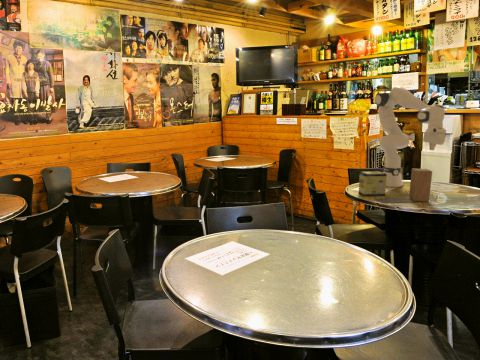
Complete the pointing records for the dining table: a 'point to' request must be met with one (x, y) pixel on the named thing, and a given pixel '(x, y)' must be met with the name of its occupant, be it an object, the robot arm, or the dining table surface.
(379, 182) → the protein box
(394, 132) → the robot arm
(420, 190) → the wooden block
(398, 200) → the mat
